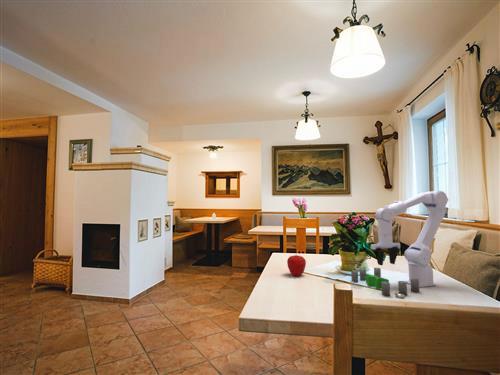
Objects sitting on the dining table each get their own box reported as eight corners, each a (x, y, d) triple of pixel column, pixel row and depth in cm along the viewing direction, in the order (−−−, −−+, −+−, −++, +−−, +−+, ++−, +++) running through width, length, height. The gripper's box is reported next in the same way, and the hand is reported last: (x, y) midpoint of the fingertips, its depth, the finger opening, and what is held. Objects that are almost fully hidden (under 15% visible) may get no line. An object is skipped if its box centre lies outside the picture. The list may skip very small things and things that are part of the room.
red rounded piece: (307, 277, 134) (307, 256, 134) (288, 278, 134) (288, 256, 134) (304, 272, 143) (303, 252, 144) (286, 272, 144) (286, 252, 144)
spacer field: (378, 277, 133) (378, 267, 134) (423, 293, 109) (422, 280, 110) (348, 280, 129) (348, 269, 129) (388, 298, 105) (388, 285, 105)
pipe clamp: (362, 284, 123) (361, 274, 123) (367, 283, 124) (367, 273, 124) (383, 291, 112) (382, 280, 113) (389, 290, 114) (388, 279, 114)
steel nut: (398, 295, 108) (398, 292, 108) (406, 298, 105) (406, 294, 105) (393, 297, 106) (393, 293, 106) (401, 299, 103) (401, 296, 103)
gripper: (391, 232, 127) (392, 261, 126) (365, 234, 123) (366, 263, 123) (403, 234, 120) (404, 264, 120) (376, 235, 117) (378, 267, 116)
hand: (386, 264), depth 121 cm, fingers open, 6 cm apart
